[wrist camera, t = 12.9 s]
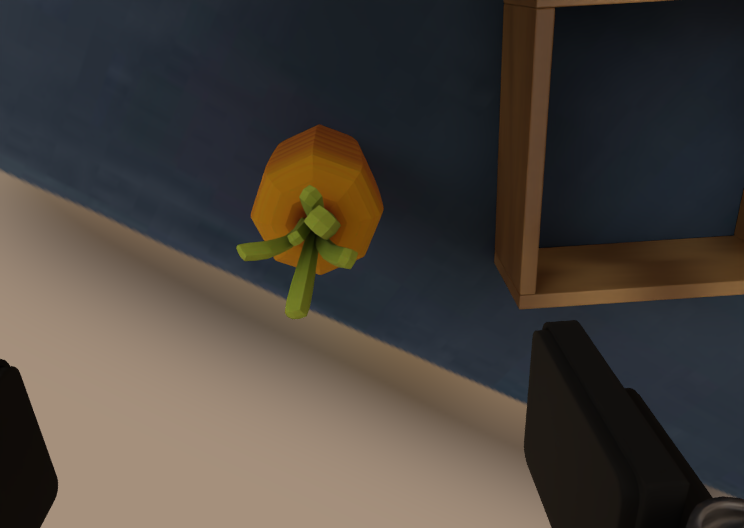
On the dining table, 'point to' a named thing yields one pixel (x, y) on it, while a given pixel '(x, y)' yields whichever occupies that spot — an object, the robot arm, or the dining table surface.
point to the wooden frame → (525, 187)
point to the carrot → (314, 209)
